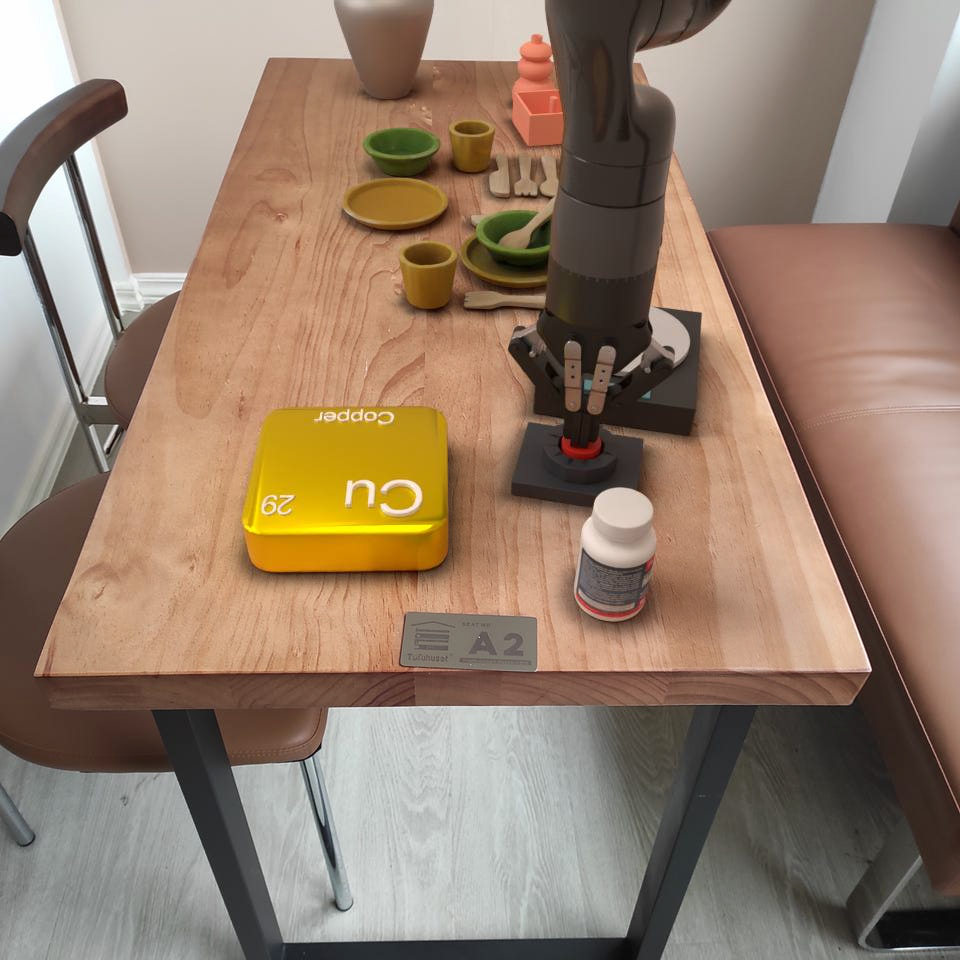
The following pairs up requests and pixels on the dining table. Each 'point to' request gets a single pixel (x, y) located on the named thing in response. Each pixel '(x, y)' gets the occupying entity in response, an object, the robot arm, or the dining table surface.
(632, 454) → the block
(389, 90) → the vase
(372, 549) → the element tile
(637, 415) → the scale
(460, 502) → the dining table surface
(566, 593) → the dining table surface
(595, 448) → the button
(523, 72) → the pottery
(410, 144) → the tableware set
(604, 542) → the pill bottle
